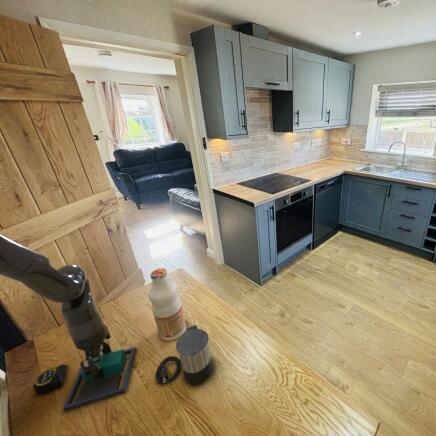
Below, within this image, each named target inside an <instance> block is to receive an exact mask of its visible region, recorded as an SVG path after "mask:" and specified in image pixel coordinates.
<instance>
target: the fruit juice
mask: <svg viewBox="0 0 436 436" xmlns="http://www.w3.org/2000/svg"><path fill="white" fill-rule="evenodd" d="M150 279H151V280H152V281H151V286H150V287H151V288H150V290H149V292H148V299H149V301H150V303H151V312H152V315H153V317H154V321H155V324H156V328H157V331H158V335H159V337H160V339H161V340H163V341H166V342H169V341H174V340H176V339H177V340H178V339H179V338H180V337H181V336H182V334H184V333H185V332H186V331H187V322H186V318H185V313H184V308H183V303H182V300H181V297H180V295H179V288H178V285H177V283H175V282H173V281H171V280H170V278H169V277H168V271H167V269H166V268H162V267H161V268H156V269H154V270H152V271H151V272H150Z"/></svg>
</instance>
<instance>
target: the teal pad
mask: <svg viewBox="0 0 436 436" xmlns="http://www.w3.org/2000/svg"><path fill="white" fill-rule="evenodd" d="M124 350H125V349H119V350H115V351H112V352H111V353H107V354H103V353H102V360H101V361H100V367H101V368H102V371H103V373H104V376H103V377H102V378H99V379H94V376H89V377H86V376H85V374H84V372H83V370H82V371H81V376H82V379H83V381H84V384H87V383H90V382H94V381H97V380H101V379H104V378H107V377H111V376H114V375H118V374H121V373H124V370H125V367H126V363H127V360H128V358H127V355H125V352H124ZM91 359H93V360H95V359H98V357H94V358H91ZM95 365H96V366H97V363H95Z"/></svg>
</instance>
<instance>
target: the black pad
mask: <svg viewBox="0 0 436 436" xmlns="http://www.w3.org/2000/svg"><path fill="white" fill-rule="evenodd" d="M121 381H122V374H121V373H118V374H114V375H111V376H107V377H104V378H100V379H97V380H94V381H90V382H87V383H84V384H81V386H80V388H79V390H78V393H77V396H76V398H75V401H74V402H78V401H81V400H84V399H87V398H91V397H94V396H97V395H100V394H103V393H107V392H110V391H113V390H116V389H120V384H121Z"/></svg>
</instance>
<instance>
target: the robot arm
mask: <svg viewBox="0 0 436 436" xmlns="http://www.w3.org/2000/svg"><path fill="white" fill-rule="evenodd" d="M0 276H2V277H5V278H7V279H10V280H13V281H15V282H19V283H21V284H22V285H23V286H25V288H28V289H29V290H31V291H32V292H33V293H35V294H36V295H39V296H40V297H41V298H43V299H46V300H48V301H51V302H54V303H60V314H61V316H62V318H63V321H64V322H65V325H66V328H67V332H68V334H69V336H70V337H71V340H72V342H73V344H74V345H75V348H76V349H78V350H80V351H83V352H84V357H85V359H84V360H82V361H80V363H79V366H80V369H81V368H82V370H83V372H84V374H85V376H86V377H89V376H94V379H97V380H100V379H103V378H102V377H103V376H104V373H103V371H102V368H101V367H100V361H101V360H102V355H103V354H107V353H111V352H113V350H112V348H111V346H110V343H111V342H110V339H111V338H112V336H111V335H112V334H111V333H110V331H109V328H108V326H107V324H106V323H105V322H104V320H103V316H102V315H101V313H100V312H99V309H98V307H97V305H96V303H95V300H94V299H93V296H92V291H91V286H90V282H89V278H88V275H87V273H86V270H84V269H83V268H82V267H80V266H78V265H75V264H67V265H63V266H60V267H58V268H57V269H56V268H54V267H53V265H52V264H51V259H50V258H48V257H47V256H45V255H44V254H41V253H39V252H37V251H35V250H33V249H31V248H28V247H26V246H25V245H22V244H20V243H18V242H16V241H13V240H12V239H9V238H7V237H6V236H4V235H2V234H0ZM94 357H98V359H95V360H93V359H91V358H94ZM95 363H97V366H96V365H95ZM99 378H100V379H99Z"/></svg>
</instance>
